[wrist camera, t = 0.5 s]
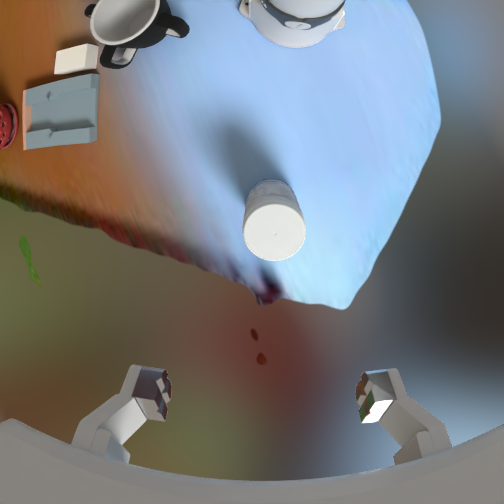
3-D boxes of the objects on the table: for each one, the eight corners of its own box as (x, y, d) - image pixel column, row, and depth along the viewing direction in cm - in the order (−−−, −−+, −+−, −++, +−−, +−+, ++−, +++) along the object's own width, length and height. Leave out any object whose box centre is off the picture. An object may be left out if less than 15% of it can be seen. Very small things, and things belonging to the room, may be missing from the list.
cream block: (69, 53, 39) (56, 51, 35) (99, 46, 39) (87, 43, 35) (66, 74, 41) (54, 74, 37) (96, 68, 41) (84, 67, 37)
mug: (182, -19, 33) (164, -44, 22) (199, 46, 40) (182, 31, 30) (106, 13, 35) (74, 0, 24) (119, 76, 42) (86, 73, 32)
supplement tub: (298, 221, 56) (309, 259, 43) (250, 227, 57) (248, 267, 44) (293, 174, 52) (304, 199, 39) (242, 181, 53) (236, 207, 40)
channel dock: (32, 89, 41) (23, 90, 38) (99, 74, 42) (91, 73, 39) (32, 146, 48) (23, 149, 45) (97, 140, 48) (89, 142, 46)
